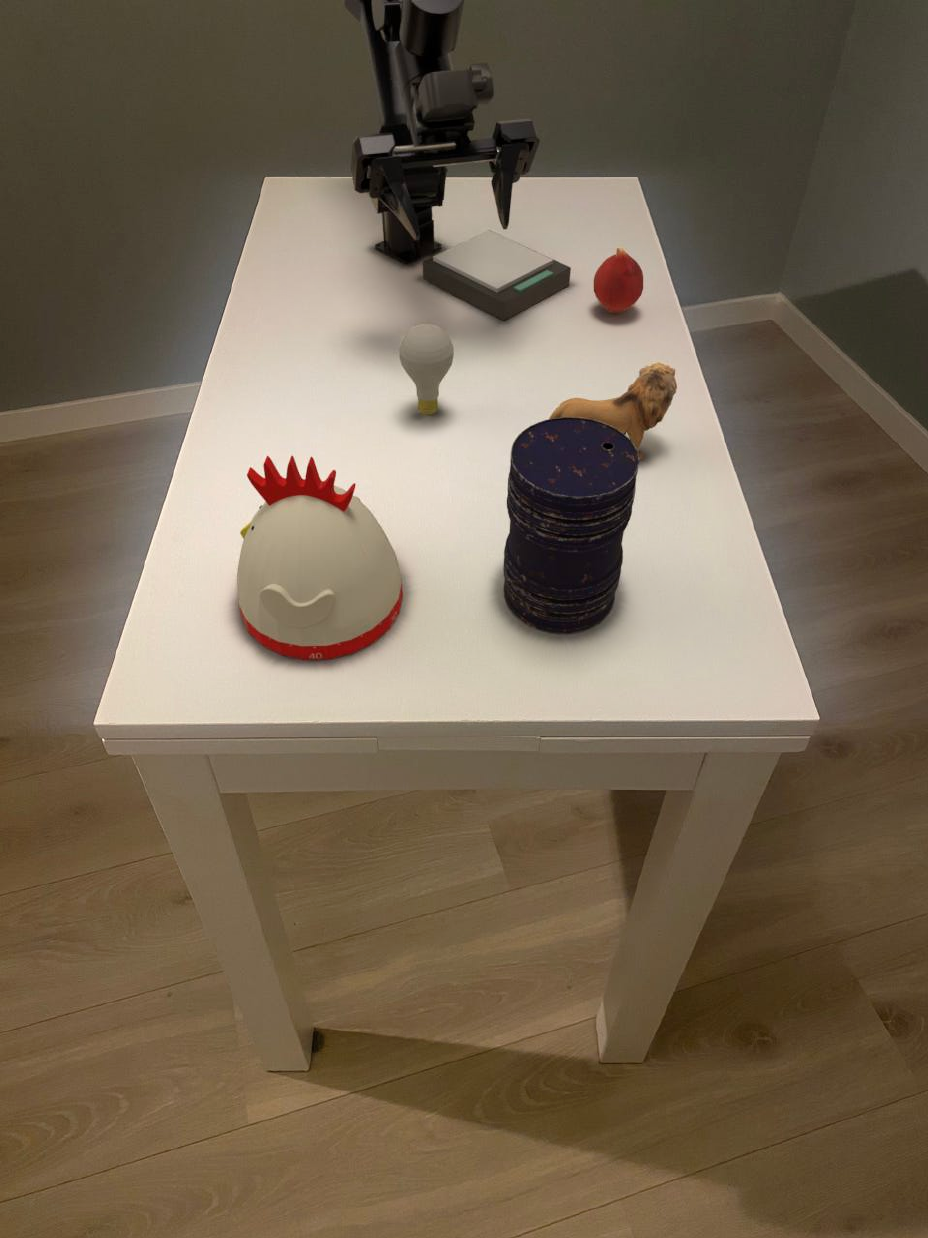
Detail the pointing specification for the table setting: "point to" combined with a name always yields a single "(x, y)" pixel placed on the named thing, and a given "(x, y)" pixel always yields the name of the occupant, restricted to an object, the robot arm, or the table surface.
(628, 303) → the onion
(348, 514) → the kitchen timer
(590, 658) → the table surface
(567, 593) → the rusty blue oil drum
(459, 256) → the kitchen scale
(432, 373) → the light bulb
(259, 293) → the table surface
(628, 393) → the lion figurine
